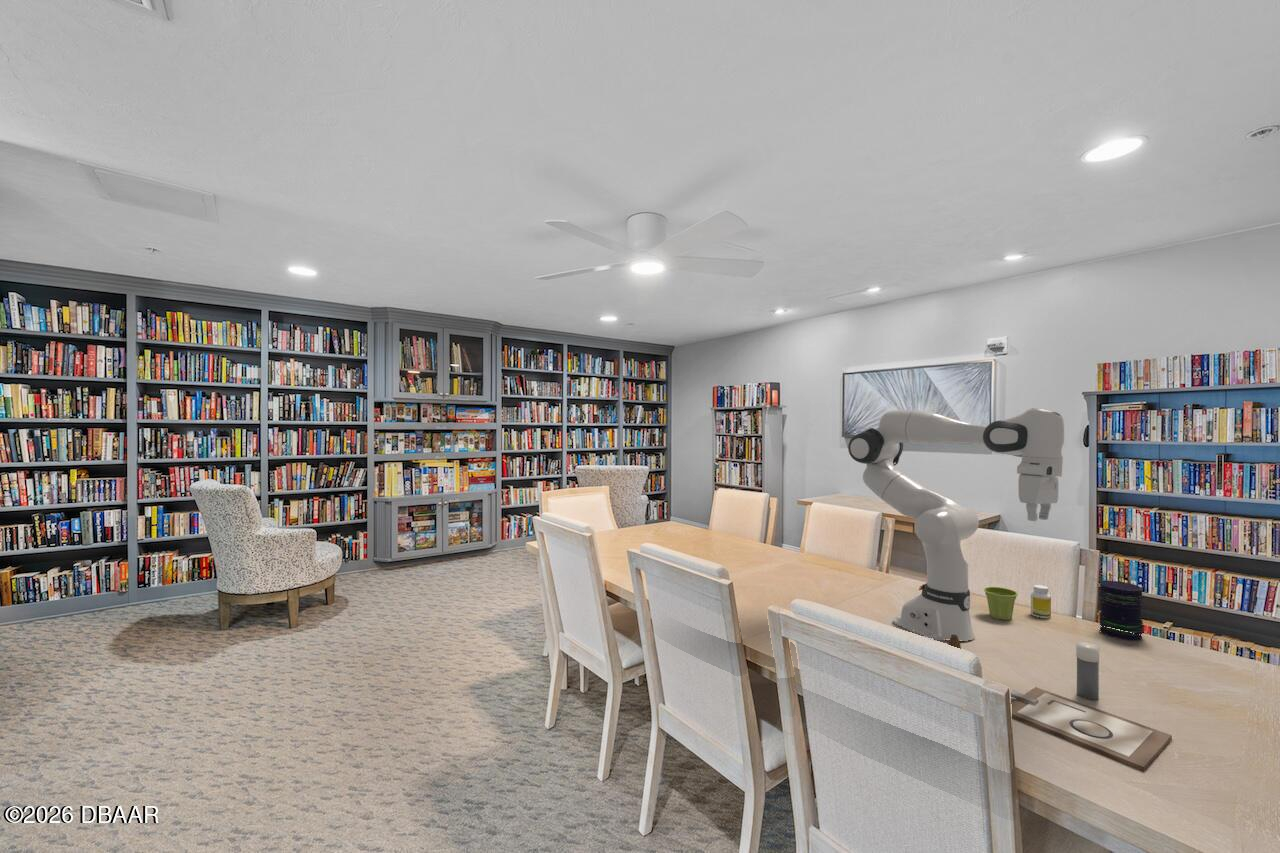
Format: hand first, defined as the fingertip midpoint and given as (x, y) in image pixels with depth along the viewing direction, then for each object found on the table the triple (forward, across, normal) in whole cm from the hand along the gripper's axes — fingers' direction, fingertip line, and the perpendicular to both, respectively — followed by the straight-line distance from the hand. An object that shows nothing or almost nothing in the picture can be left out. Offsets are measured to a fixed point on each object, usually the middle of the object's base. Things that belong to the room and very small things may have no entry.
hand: (1037, 520), depth 144 cm
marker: (+39, +8, +14) cm, 42 cm away
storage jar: (+35, -46, +11) cm, 58 cm away
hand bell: (+43, +35, -5) cm, 55 cm away
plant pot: (+36, -34, -18) cm, 53 cm away
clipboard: (+41, +24, +16) cm, 50 cm away
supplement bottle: (+35, -46, -9) cm, 58 cm away
